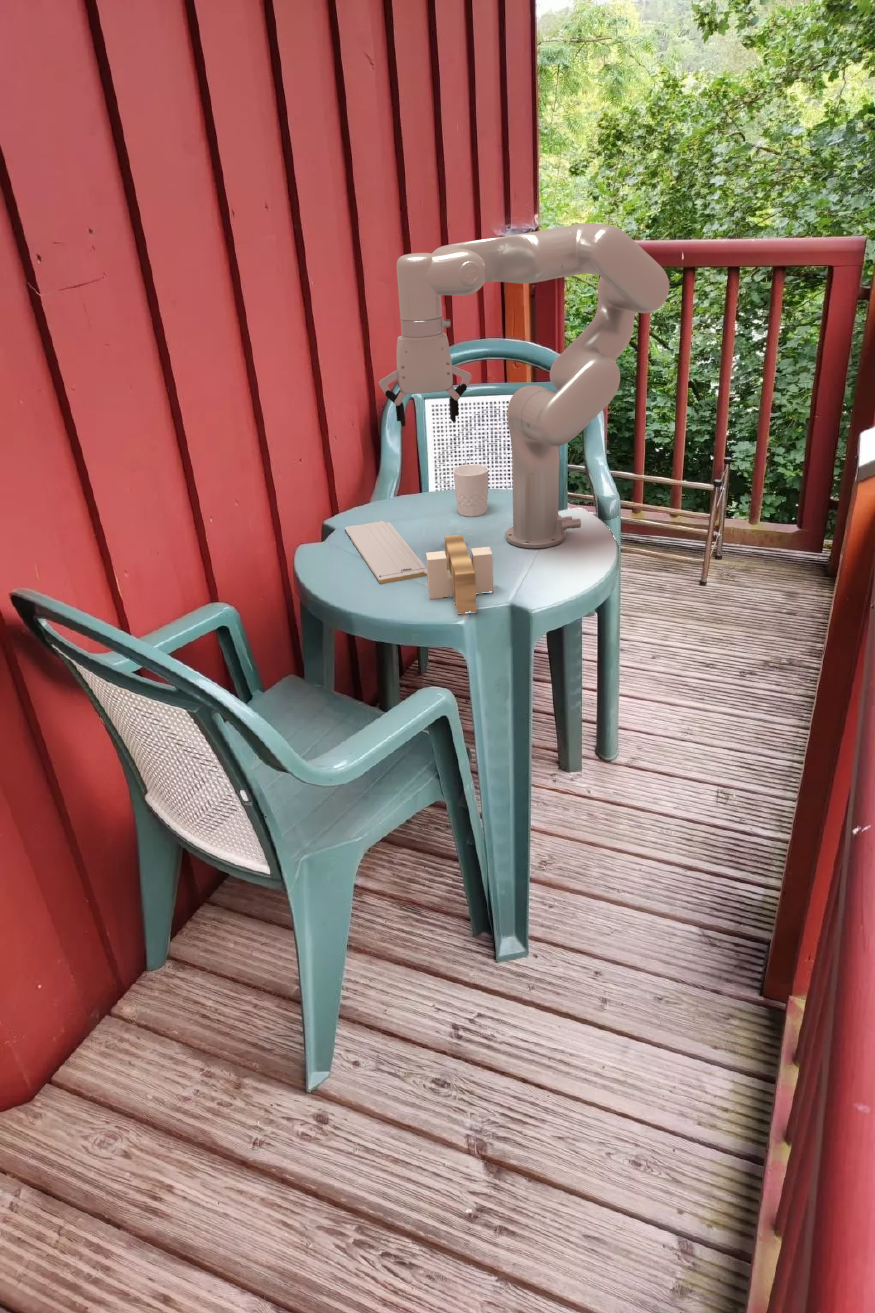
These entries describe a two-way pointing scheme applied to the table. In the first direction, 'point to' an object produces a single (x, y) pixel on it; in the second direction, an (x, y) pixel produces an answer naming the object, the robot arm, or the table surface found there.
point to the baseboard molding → (386, 552)
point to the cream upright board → (442, 577)
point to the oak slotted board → (461, 574)
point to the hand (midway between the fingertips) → (428, 422)
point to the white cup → (471, 489)
